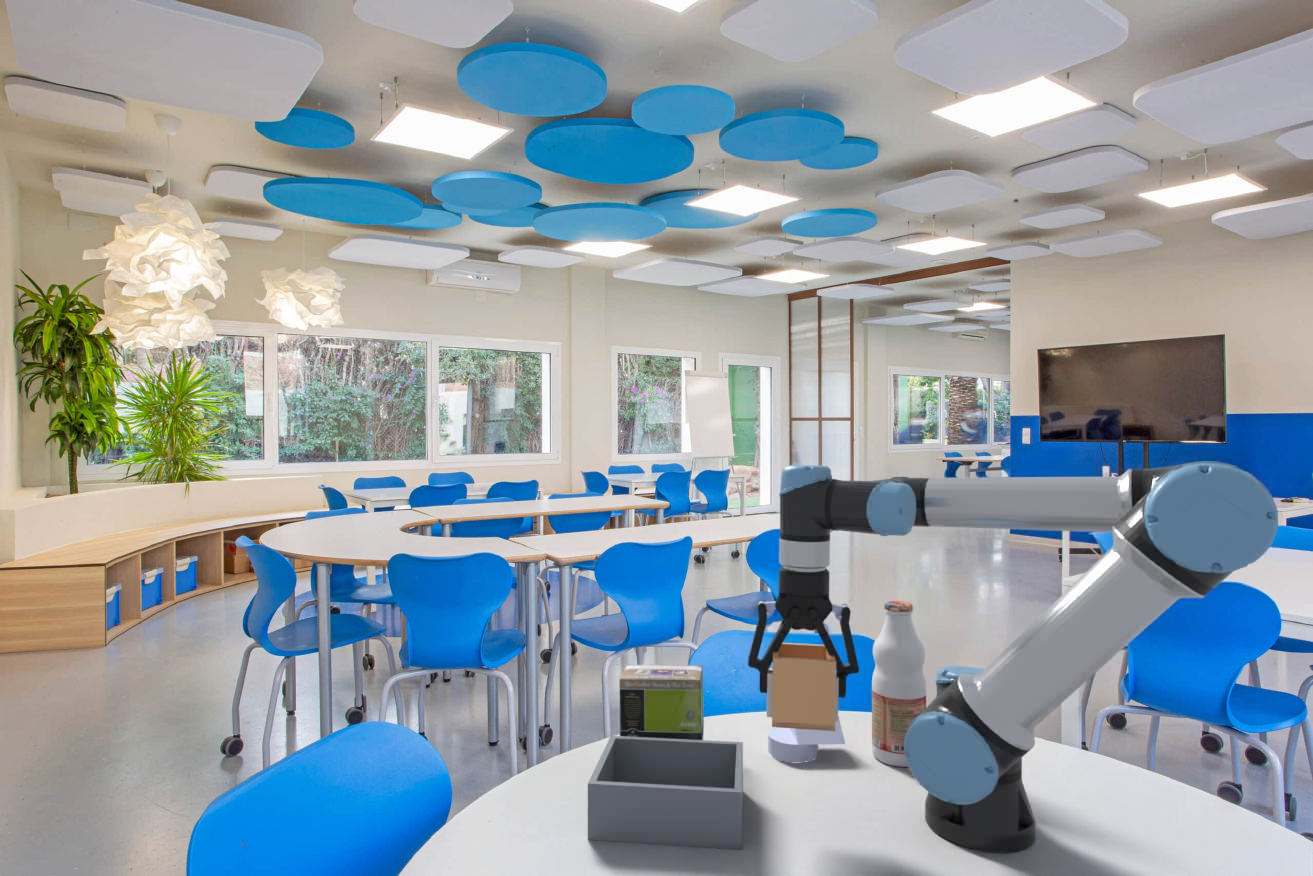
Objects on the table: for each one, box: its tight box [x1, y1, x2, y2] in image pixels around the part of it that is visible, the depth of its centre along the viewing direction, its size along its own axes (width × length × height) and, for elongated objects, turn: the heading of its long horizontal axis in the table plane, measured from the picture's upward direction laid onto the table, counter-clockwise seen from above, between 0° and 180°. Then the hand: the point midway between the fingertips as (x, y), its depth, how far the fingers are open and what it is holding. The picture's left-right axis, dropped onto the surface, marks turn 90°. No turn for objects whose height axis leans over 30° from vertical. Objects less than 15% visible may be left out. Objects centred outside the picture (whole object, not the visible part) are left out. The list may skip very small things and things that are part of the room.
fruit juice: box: [871, 600, 927, 768], centre depth 137 cm, size 9×9×28 cm
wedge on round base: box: [767, 715, 846, 763], centre depth 139 cm, size 9×7×13 cm
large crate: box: [587, 735, 744, 851], centre depth 116 cm, size 22×18×8 cm
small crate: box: [771, 642, 837, 731], centre depth 114 cm, size 9×9×10 cm
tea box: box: [619, 663, 705, 740], centre depth 140 cm, size 15×10×15 cm
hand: (801, 716), depth 114 cm, fingers closed on small crate, 9 cm apart
